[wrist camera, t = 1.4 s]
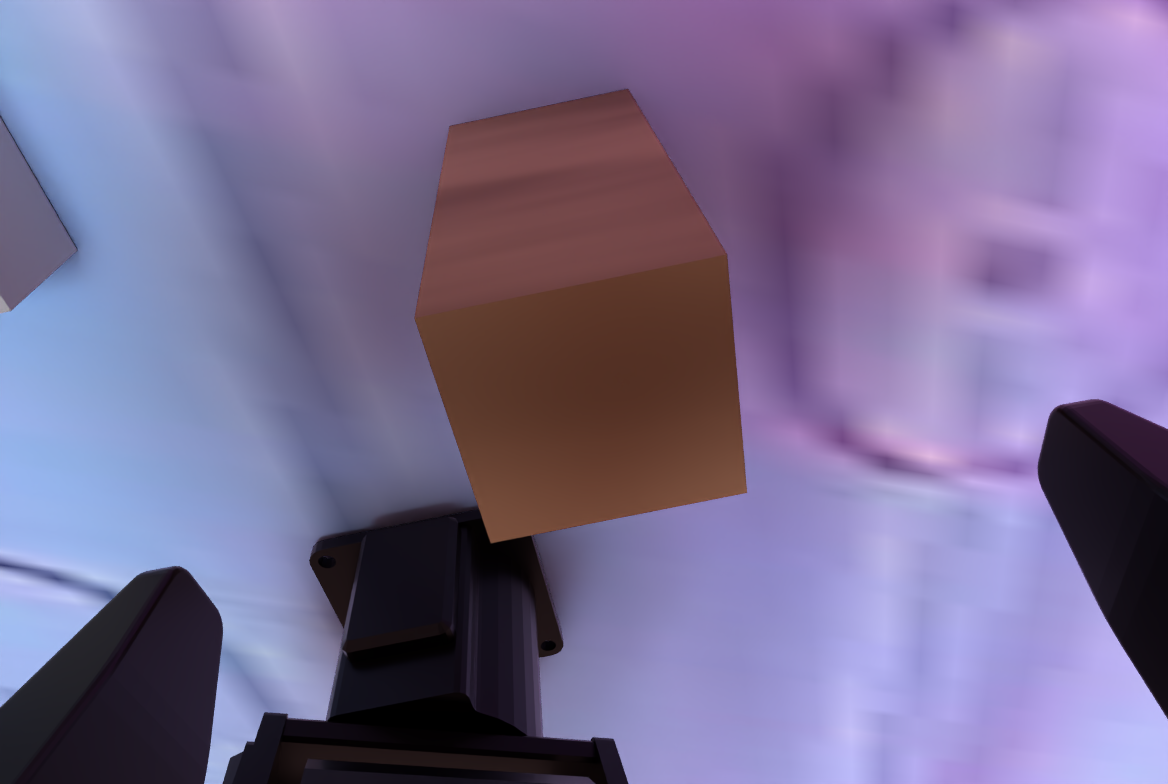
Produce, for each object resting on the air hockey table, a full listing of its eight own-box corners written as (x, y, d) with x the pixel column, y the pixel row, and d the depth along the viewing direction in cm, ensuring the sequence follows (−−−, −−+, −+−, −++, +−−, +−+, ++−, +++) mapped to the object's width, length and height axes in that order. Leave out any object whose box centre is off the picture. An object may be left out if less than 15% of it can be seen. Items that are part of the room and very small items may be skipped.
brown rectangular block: (651, 255, 20) (747, 492, 12) (492, 287, 20) (490, 543, 12) (627, 88, 17) (726, 254, 10) (449, 126, 18) (414, 318, 10)
